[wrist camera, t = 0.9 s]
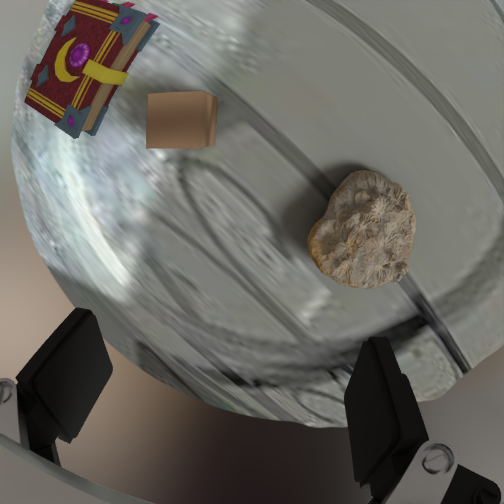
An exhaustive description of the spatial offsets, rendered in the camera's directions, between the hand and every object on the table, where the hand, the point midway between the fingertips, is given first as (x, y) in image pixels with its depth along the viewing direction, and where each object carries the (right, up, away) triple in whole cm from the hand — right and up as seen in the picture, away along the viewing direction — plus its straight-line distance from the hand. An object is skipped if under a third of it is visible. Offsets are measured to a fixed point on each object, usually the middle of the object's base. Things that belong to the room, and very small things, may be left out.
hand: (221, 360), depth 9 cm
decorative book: (-17, +26, +16) cm, 35 cm away
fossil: (+13, +7, +22) cm, 26 cm away
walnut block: (-5, +17, +18) cm, 26 cm away
